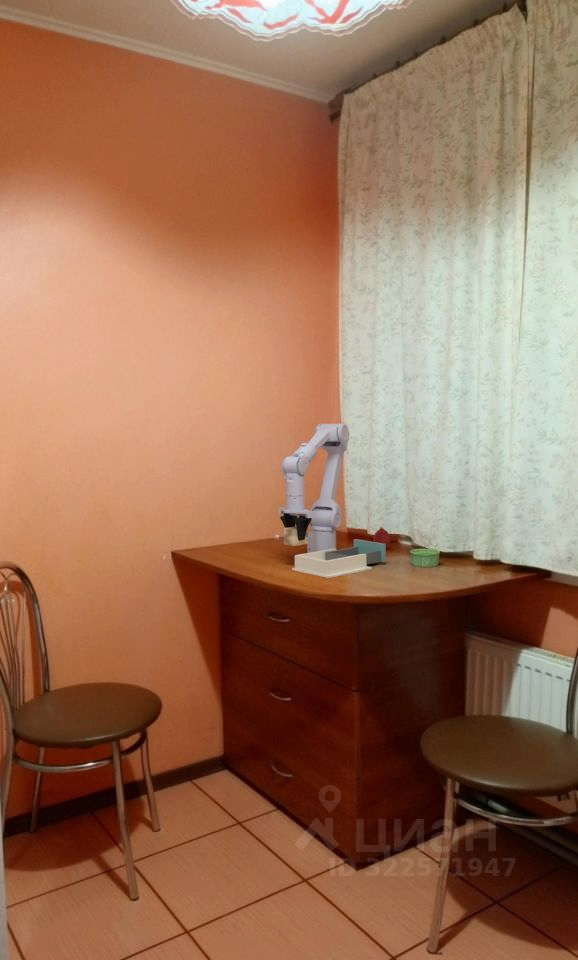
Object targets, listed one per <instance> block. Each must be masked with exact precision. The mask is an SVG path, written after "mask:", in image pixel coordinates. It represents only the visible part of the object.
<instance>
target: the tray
mask: <svg viewBox="0 0 578 960" xmlns="http://www.w3.org/2000/svg"><path fill="white" fill-rule="evenodd" d="M386 549H387V547H386V544H382V543H376V542H374V541H368V540H364V539H355V538H354V539H353V546H352V547H348V548H347V547H346V548H342V549H337V550H335V551H330V552H325V560H326V561H327V560H333V559H338V558H343V557H349V556H354V555H359V554H366V565H370V564H375V563H380V562H382V563H386V562H387V561H386V558H387V556H386V555H387V553H386V552H387V551H386Z"/></svg>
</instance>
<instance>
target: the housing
mask: <svg viewBox="0 0 578 960" xmlns="http://www.w3.org/2000/svg"><path fill="white" fill-rule="evenodd" d="M335 550H338V549H337V548H336V549H328V550H322V551H316V552H311V553H307V552H306V553H300V554H295V555H294V567H292V568H291V569H292V571H295V572H300V573H304V574H307V575H308V574H309V575H313V576H317V577H322V578H326V579H332V578H337V577H340V576H346V575H350V574H354V573H361V572H364V571H365V572H366V571H370V570H372V569H373V567H372V566H368V565H367V564H366V554H359V555H354V556H349V557H343V558H338V559H333V560H327V561H326V560H325V552H330V551H335Z"/></svg>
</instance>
